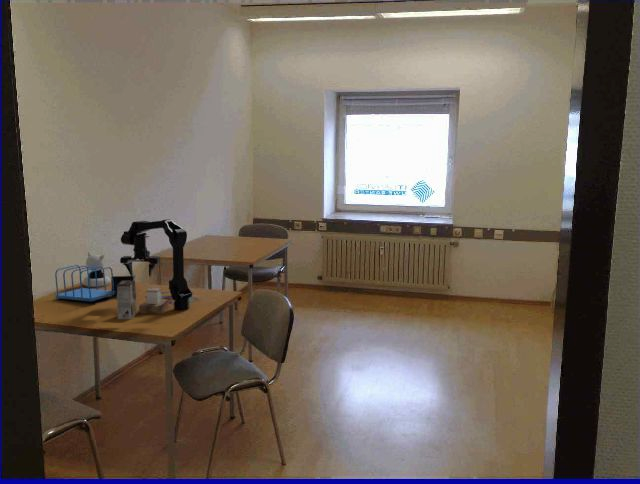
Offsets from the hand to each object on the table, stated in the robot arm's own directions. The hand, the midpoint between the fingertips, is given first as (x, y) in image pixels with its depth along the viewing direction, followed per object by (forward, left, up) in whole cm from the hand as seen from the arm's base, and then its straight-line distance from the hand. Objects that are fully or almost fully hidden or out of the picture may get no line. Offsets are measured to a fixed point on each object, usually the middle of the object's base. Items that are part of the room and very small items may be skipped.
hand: (141, 276), depth 283 cm
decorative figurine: (+38, -35, -13) cm, 53 cm away
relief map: (-14, -8, -14) cm, 21 cm away
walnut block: (-11, +14, -13) cm, 22 cm away
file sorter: (+32, -7, -13) cm, 35 cm away
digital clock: (+16, -21, -13) cm, 29 cm away
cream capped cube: (-11, +14, -10) cm, 21 cm away
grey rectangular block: (+15, -12, -13) cm, 23 cm away
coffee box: (-3, +27, -13) cm, 30 cm away
